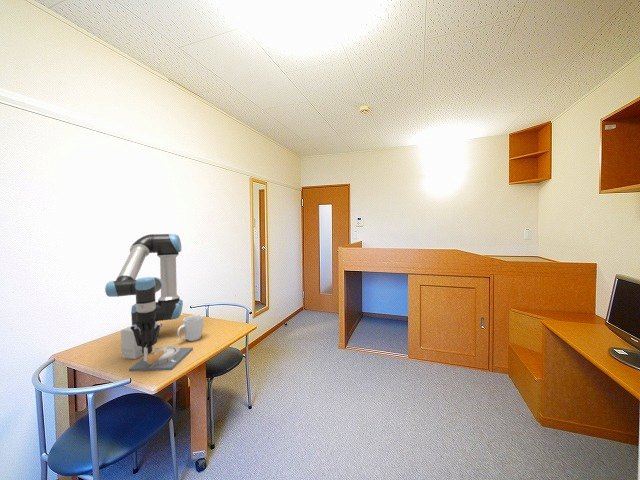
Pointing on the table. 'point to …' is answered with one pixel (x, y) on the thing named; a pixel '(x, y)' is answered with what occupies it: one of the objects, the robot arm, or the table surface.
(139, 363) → the panel
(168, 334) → the table surface
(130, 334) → the supplement box
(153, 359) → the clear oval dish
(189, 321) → the mug
